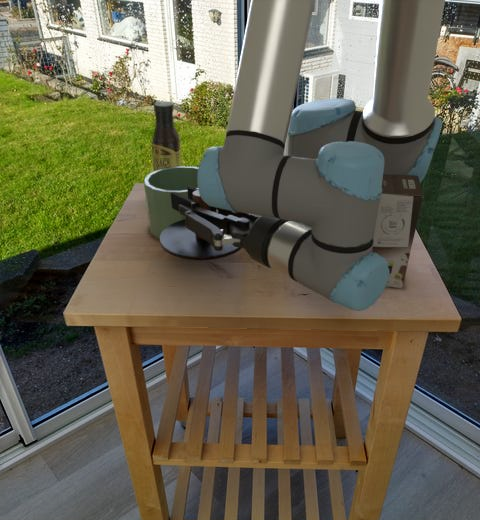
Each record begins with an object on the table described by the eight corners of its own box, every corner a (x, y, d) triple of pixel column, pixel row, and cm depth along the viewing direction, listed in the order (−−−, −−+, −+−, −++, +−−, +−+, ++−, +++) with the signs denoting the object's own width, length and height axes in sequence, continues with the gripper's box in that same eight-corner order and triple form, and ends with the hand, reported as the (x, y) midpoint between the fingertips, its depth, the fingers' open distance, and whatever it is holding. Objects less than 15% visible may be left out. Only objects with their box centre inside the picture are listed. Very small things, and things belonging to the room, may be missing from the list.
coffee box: (403, 289, 82) (424, 196, 72) (364, 284, 83) (379, 193, 73) (401, 262, 89) (419, 174, 80) (364, 258, 90) (378, 171, 81)
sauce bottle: (150, 194, 115) (139, 104, 103) (168, 186, 119) (159, 98, 107) (171, 201, 112) (163, 108, 100) (189, 192, 116) (182, 102, 104)
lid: (251, 224, 89) (251, 177, 84) (243, 265, 77) (242, 214, 72) (170, 220, 91) (166, 174, 85) (150, 261, 79) (143, 210, 74)
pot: (221, 215, 106) (220, 167, 99) (212, 245, 95) (209, 193, 88) (159, 213, 107) (154, 165, 100) (142, 242, 96) (135, 190, 90)
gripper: (242, 288, 68) (144, 232, 81) (317, 249, 76) (217, 204, 90) (241, 239, 63) (138, 188, 77) (321, 203, 72) (216, 163, 86)
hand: (181, 197), depth 83 cm, fingers closed on lid, 3 cm apart
